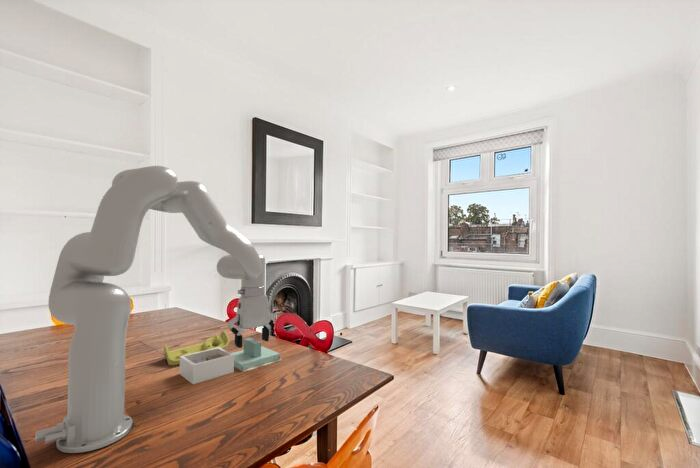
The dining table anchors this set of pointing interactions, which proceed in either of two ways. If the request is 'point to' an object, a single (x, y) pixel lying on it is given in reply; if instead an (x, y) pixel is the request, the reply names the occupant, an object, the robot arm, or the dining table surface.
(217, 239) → the robot arm
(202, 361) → the steel block
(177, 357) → the plastic component
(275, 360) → the board
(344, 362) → the dining table surface
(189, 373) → the tub
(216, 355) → the walnut block
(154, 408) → the dining table surface
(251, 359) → the lid
